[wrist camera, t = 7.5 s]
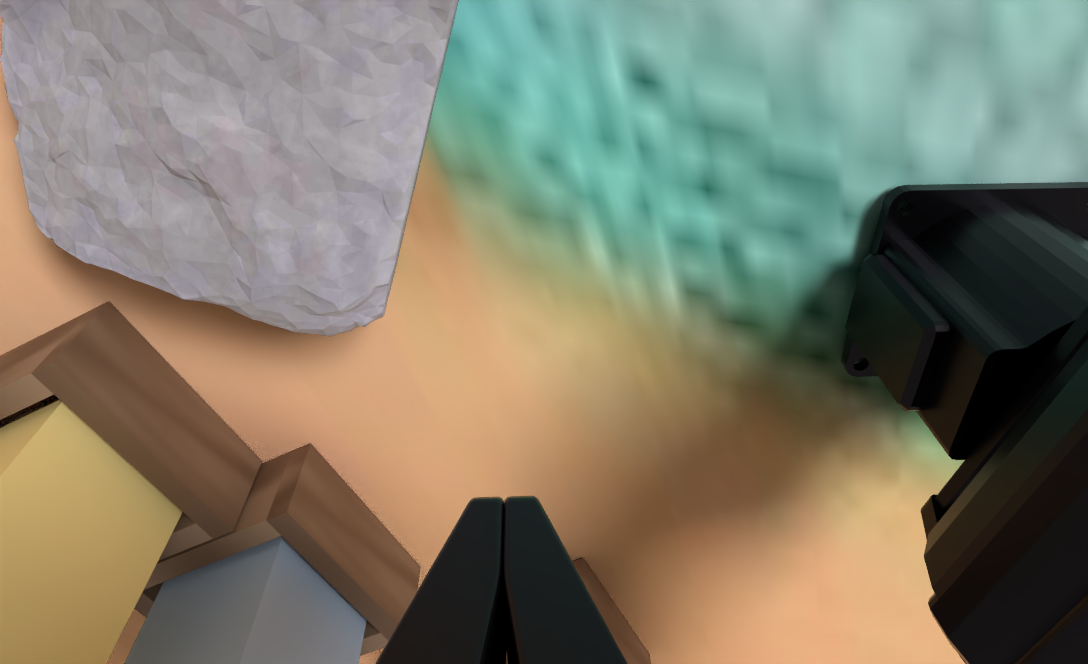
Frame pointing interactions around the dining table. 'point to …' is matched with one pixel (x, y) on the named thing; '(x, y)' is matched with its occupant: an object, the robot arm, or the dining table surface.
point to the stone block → (229, 143)
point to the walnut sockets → (228, 474)
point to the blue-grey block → (251, 614)
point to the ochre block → (72, 539)
